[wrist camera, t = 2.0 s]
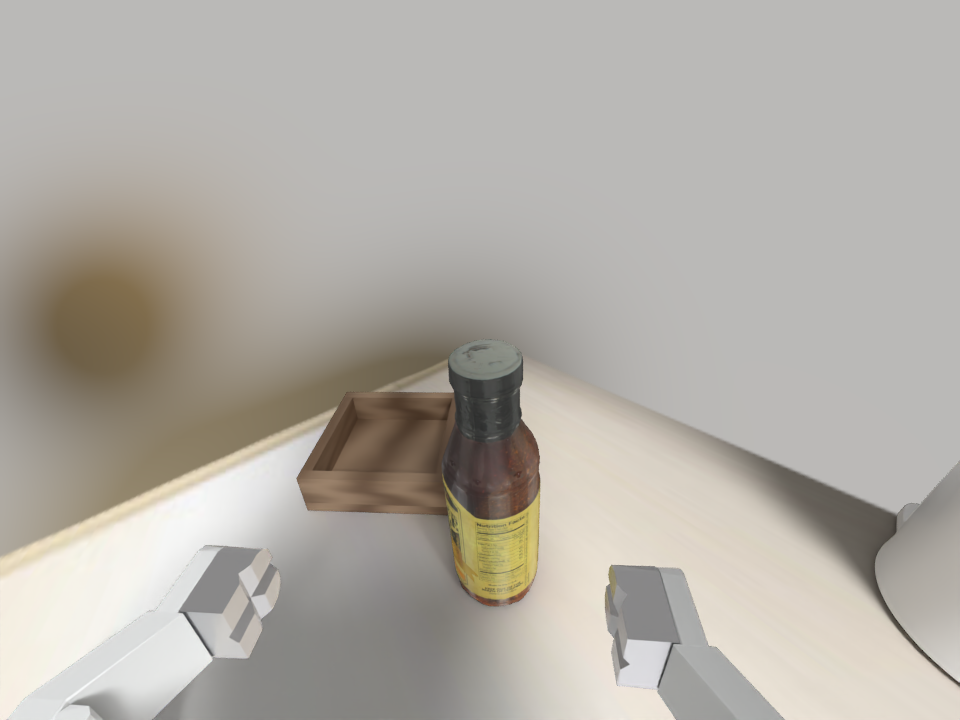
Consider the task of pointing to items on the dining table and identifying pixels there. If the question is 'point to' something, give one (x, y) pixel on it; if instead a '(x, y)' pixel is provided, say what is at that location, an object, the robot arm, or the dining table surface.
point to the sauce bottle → (491, 475)
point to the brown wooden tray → (381, 455)
